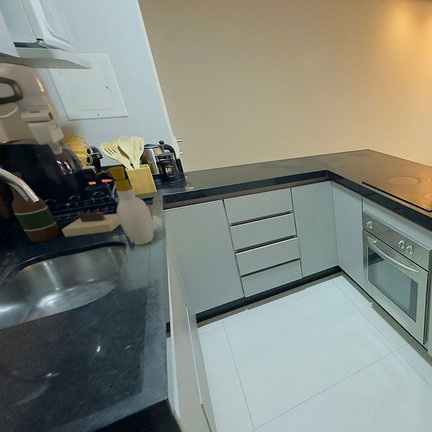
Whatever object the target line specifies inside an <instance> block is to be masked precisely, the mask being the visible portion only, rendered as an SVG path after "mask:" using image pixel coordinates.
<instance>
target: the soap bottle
mask: <svg viewBox="0 0 432 432" xmlns="http://www.w3.org/2000/svg"><path fill="white" fill-rule="evenodd" d="M107 169H108V170H102V171H100V172H98V173H96V175H97V176H98V175H100V174H103V173H110V174H111V176H112V178H113V179H114V181H113V183H114V185H115V188H116V191H115V192H116V195H117V196H118V197H117V198H118V199H119V200H118V203H117V207H116V214H117V216H118V219H119V221H120V226H121V228H122V230H123V232H124V234H125V236H126V237H128V239H129V240H130V241H131V242H132V243H133V244H134V245H135V246H142V245H146V244H149V243H150V242H151V241H153V239H154V221H153V218H152V214H151V212H150V208H149V207H148V205H147V204H146V203H145V201H144V200H143V199H141V198H140V197H138V196H136V194H135V191H134V189H133V187H131V184H130V181H129V179H128V178H126V174H125V168H124V166H119V165H118V166H113V167H109V168H107ZM148 242H149V243H148Z"/></svg>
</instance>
